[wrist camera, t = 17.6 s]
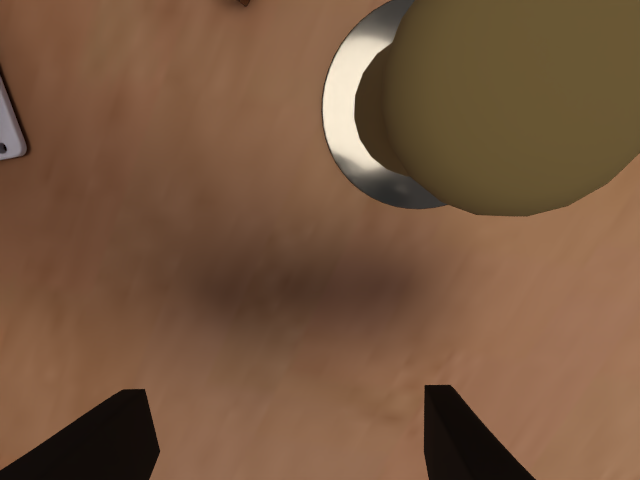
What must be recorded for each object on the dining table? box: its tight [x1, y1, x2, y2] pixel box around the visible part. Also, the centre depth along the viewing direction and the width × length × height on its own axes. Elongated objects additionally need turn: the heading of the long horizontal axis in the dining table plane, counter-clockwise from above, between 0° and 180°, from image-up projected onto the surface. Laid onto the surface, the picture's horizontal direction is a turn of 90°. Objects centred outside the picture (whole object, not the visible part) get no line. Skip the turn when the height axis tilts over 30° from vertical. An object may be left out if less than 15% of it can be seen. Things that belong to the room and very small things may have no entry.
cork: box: [354, 0, 640, 216], centre depth 11 cm, size 6×6×11 cm
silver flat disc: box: [322, 0, 448, 209], centre depth 17 cm, size 9×9×1 cm
